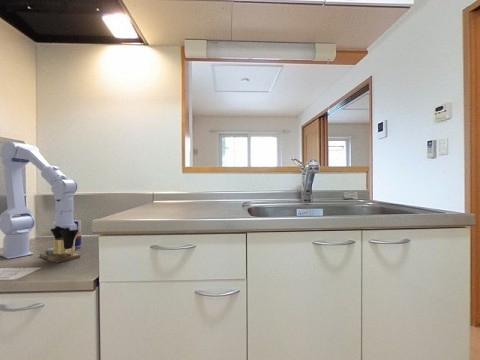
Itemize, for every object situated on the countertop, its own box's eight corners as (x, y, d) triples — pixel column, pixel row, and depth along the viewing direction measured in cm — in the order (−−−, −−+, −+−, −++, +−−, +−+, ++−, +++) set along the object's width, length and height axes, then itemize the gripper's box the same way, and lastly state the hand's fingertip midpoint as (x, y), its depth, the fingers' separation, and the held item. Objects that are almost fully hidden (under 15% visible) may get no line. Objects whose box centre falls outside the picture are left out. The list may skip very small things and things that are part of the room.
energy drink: (70, 250, 113) (70, 221, 114) (64, 248, 116) (64, 220, 116) (83, 247, 118) (83, 220, 118) (77, 246, 121) (77, 219, 121)
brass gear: (50, 252, 99) (50, 239, 99) (70, 248, 105) (70, 235, 105) (57, 254, 96) (57, 240, 96) (77, 250, 102) (77, 237, 102)
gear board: (40, 257, 103) (40, 244, 103) (63, 252, 110) (63, 240, 110) (56, 263, 95) (56, 249, 96) (80, 257, 102) (80, 245, 102)
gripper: (43, 211, 102) (43, 247, 102) (61, 213, 94) (61, 252, 93) (64, 209, 108) (64, 243, 107) (82, 211, 99) (82, 248, 99)
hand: (64, 247), depth 101 cm, fingers closed on brass gear, 5 cm apart
